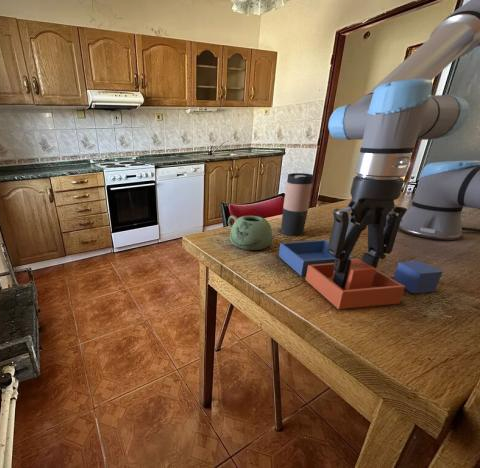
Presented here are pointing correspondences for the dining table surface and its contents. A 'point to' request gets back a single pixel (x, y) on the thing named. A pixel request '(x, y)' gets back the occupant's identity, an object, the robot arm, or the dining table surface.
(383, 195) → the robot arm
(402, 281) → the blue block
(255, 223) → the mug
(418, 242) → the dining table surface
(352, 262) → the terracotta block
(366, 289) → the terracotta bin
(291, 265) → the blue bin
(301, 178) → the travel mug
